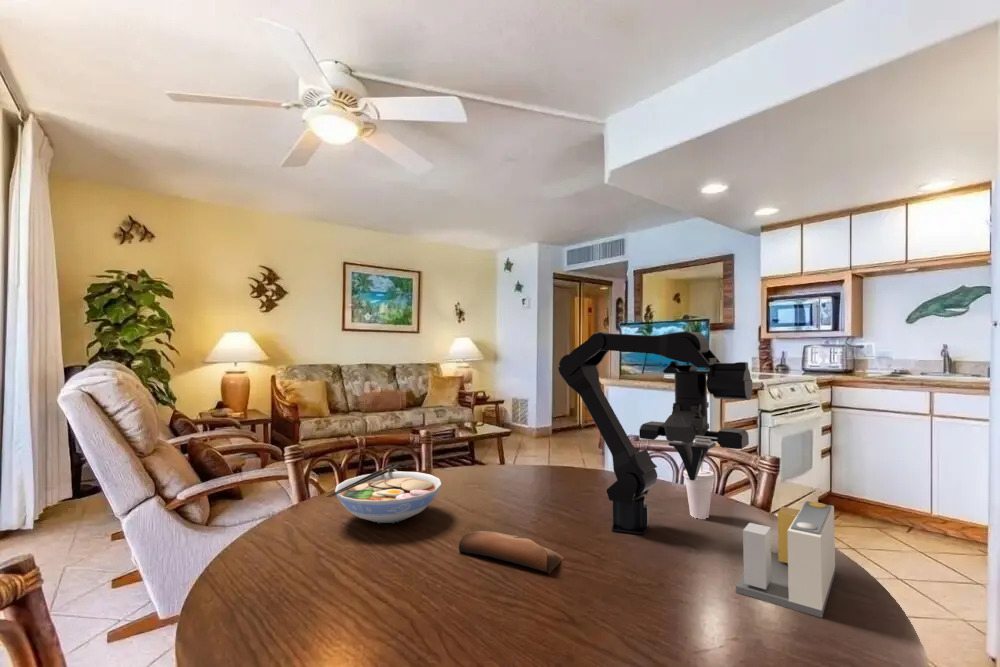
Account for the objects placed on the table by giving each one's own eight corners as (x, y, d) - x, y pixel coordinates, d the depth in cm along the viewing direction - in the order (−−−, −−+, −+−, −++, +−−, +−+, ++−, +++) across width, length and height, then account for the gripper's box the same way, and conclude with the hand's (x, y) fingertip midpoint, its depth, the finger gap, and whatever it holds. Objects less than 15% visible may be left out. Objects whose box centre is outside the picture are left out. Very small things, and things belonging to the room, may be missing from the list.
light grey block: (743, 583, 74) (743, 530, 74) (750, 573, 77) (749, 522, 78) (765, 589, 72) (765, 534, 73) (771, 579, 75) (770, 527, 76)
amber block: (778, 560, 82) (777, 512, 82) (783, 553, 85) (782, 506, 85) (799, 566, 80) (798, 516, 80) (803, 557, 83) (802, 510, 83)
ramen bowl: (405, 547, 92) (405, 503, 92) (306, 532, 99) (306, 491, 100) (460, 506, 115) (460, 471, 115) (377, 496, 123) (377, 463, 123)
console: (736, 592, 75) (734, 516, 75) (761, 555, 88) (759, 490, 88) (822, 617, 68) (820, 533, 68) (835, 573, 81) (833, 502, 81)
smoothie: (718, 522, 104) (717, 456, 104) (686, 520, 105) (685, 454, 105) (711, 512, 110) (710, 449, 110) (681, 510, 111) (680, 448, 112)
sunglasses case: (567, 556, 87) (559, 530, 85) (554, 591, 82) (545, 564, 79) (482, 537, 96) (472, 512, 94) (465, 567, 91) (454, 543, 88)
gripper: (626, 398, 93) (628, 481, 93) (732, 404, 81) (734, 499, 81) (649, 393, 102) (651, 469, 101) (748, 398, 90) (750, 484, 89)
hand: (692, 479), depth 93 cm, fingers closed
